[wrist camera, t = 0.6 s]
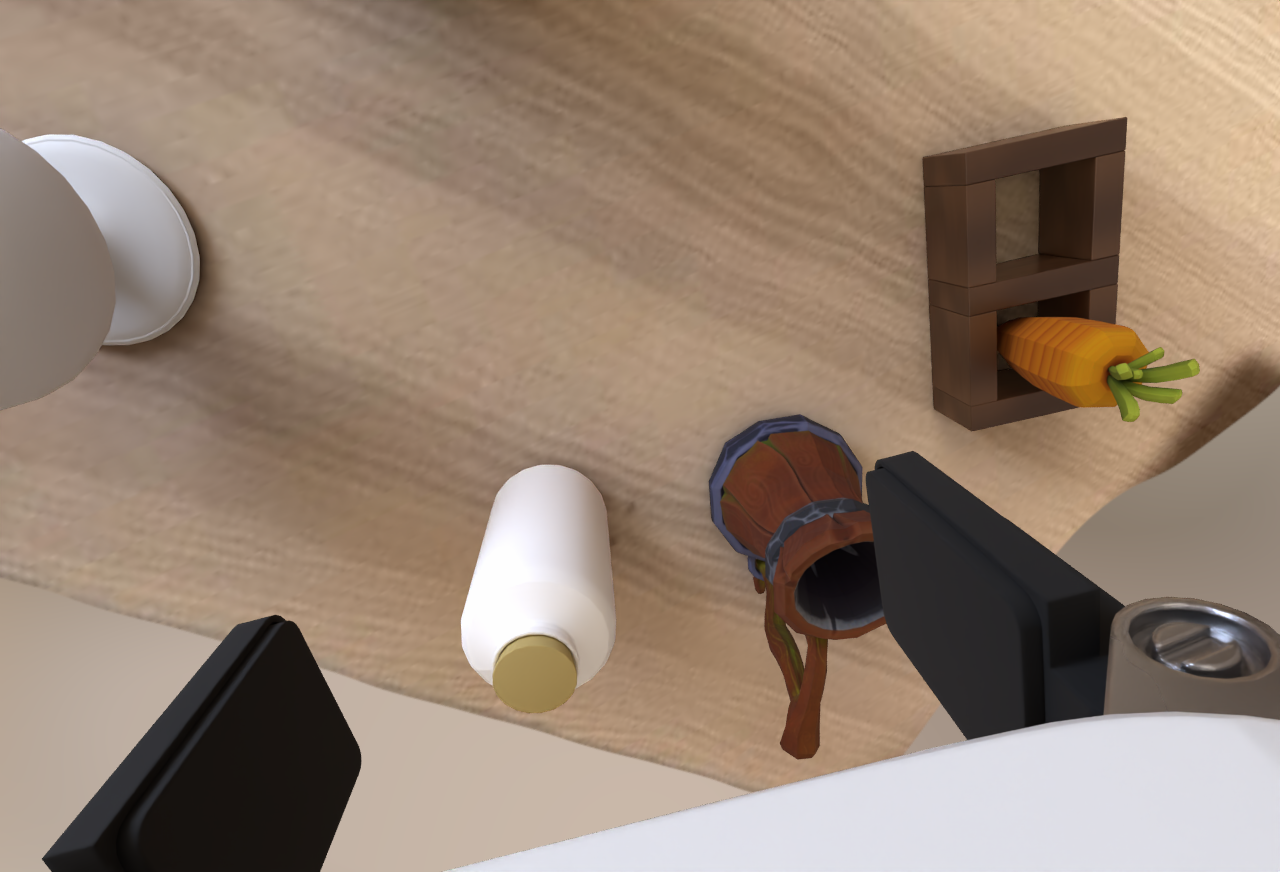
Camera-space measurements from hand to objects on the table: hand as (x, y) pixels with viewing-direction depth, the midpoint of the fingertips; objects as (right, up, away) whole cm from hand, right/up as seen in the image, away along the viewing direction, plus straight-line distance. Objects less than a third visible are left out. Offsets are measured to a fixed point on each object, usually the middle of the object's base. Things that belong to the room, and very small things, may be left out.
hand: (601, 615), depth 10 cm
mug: (+11, -4, +40) cm, 42 cm away
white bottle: (-6, -3, +38) cm, 39 cm away
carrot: (+26, +10, +36) cm, 46 cm away
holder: (+25, +14, +35) cm, 45 cm away
